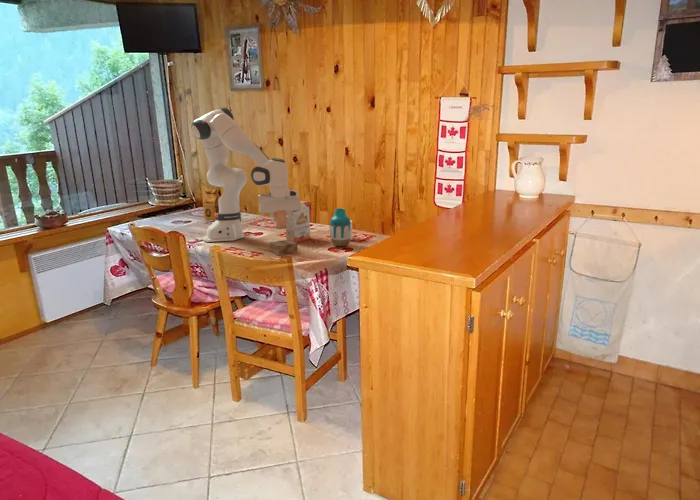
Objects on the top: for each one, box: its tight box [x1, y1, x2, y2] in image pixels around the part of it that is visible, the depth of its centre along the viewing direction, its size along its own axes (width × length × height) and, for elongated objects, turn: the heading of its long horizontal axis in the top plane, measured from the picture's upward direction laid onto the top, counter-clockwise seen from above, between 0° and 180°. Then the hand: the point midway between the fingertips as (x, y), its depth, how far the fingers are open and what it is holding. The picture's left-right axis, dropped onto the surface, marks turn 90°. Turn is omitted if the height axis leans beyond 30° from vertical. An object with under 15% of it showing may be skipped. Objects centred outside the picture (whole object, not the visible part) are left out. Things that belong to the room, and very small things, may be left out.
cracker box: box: [285, 200, 311, 244], centre depth 274 cm, size 14×6×21 cm, turn 147°
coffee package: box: [202, 188, 220, 221], centre depth 330 cm, size 10×12×22 cm
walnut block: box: [269, 239, 298, 256], centre depth 253 cm, size 10×10×5 cm
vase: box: [329, 207, 351, 247], centre depth 261 cm, size 11×11×19 cm
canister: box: [274, 209, 287, 230], centre depth 249 cm, size 5×5×10 cm
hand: (280, 220), depth 249 cm, fingers closed on canister, 5 cm apart
